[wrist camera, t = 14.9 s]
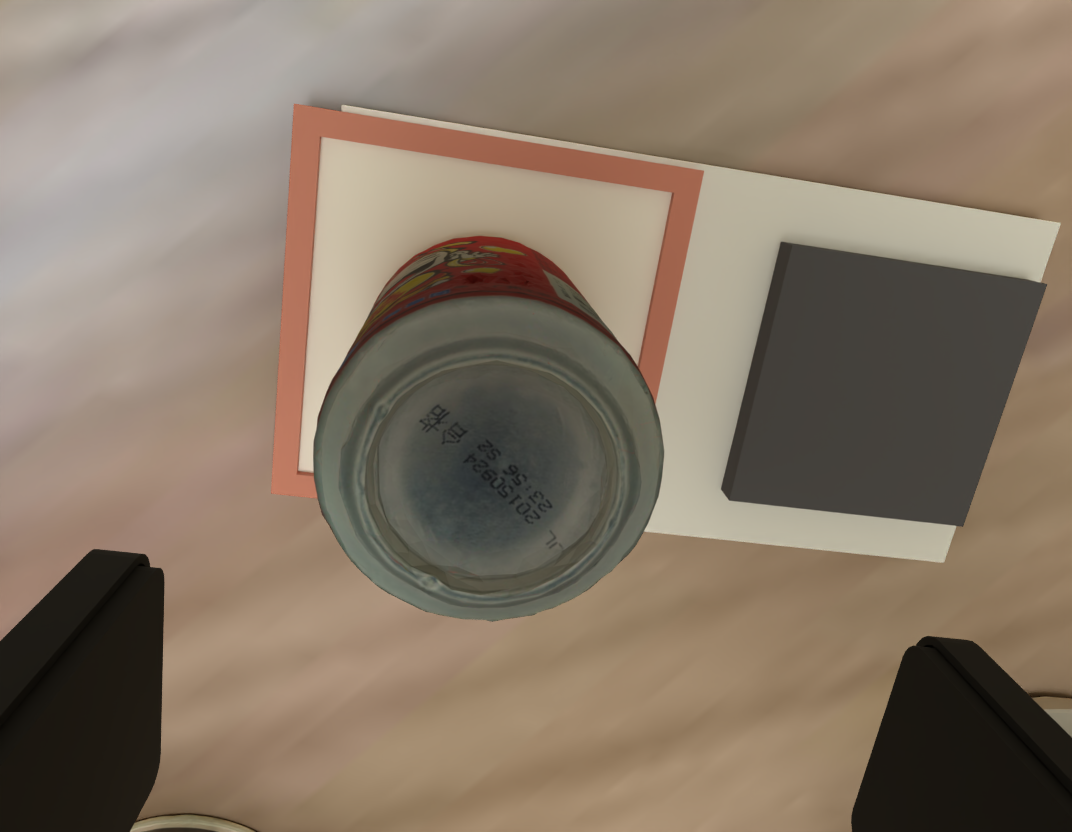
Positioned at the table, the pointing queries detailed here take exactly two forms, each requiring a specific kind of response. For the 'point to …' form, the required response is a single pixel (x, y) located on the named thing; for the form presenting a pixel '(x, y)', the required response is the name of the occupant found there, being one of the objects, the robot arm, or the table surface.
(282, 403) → the red bordered square panel
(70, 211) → the table surface
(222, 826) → the coffee can
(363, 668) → the table surface
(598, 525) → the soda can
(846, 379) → the ink pad
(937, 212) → the board
